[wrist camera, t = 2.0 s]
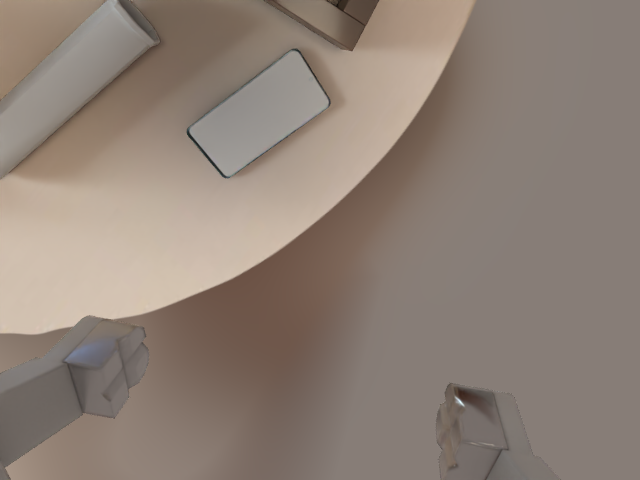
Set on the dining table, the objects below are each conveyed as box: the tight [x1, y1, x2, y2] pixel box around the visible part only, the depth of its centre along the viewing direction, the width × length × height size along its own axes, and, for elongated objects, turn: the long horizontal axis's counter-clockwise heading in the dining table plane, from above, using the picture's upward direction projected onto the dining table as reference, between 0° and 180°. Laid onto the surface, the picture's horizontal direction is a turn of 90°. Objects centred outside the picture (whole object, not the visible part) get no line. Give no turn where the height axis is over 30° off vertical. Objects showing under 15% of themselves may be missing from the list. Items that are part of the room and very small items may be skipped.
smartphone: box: [187, 49, 331, 178], centre depth 45 cm, size 7×1×15 cm
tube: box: [0, 0, 160, 180], centre depth 40 cm, size 5×5×25 cm
